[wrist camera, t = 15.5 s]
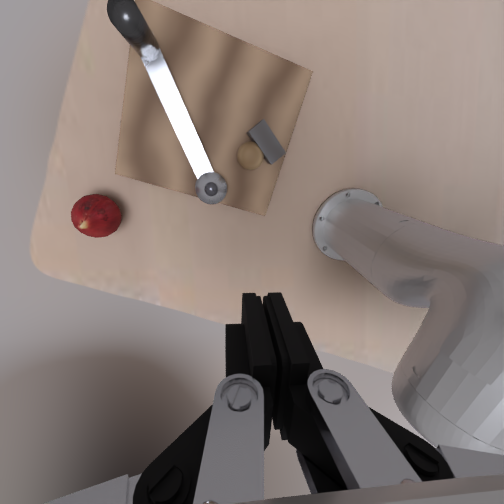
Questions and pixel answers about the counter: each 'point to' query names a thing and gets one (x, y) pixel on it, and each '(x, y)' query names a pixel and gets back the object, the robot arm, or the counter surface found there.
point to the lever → (167, 95)
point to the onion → (96, 215)
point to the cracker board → (210, 110)
